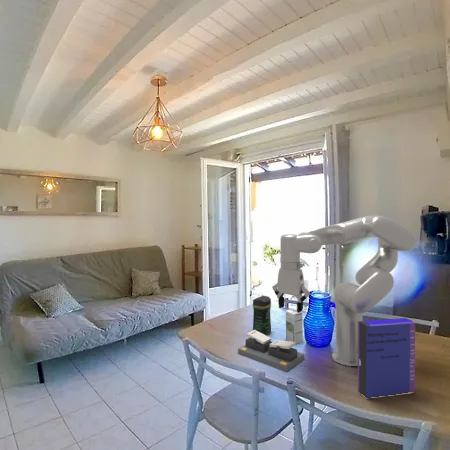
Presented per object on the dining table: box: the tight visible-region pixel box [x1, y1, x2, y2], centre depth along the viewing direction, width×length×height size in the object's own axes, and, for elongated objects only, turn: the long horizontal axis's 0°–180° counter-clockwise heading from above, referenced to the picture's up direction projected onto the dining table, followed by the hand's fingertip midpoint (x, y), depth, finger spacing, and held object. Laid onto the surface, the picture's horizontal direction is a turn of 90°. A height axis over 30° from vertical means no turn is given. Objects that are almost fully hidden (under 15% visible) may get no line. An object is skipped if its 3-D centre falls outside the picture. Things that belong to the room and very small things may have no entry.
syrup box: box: [285, 308, 304, 345], centre depth 145 cm, size 6×6×14 cm
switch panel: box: [237, 334, 305, 373], centre depth 130 cm, size 24×14×7 cm, turn 48°
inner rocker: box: [270, 339, 297, 349], centre depth 126 cm, size 9×6×1 cm, turn 48°
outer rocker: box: [246, 329, 272, 344], centre depth 134 cm, size 9×6×1 cm, turn 48°
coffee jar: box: [252, 295, 272, 336], centre depth 155 cm, size 10×8×19 cm
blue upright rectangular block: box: [357, 317, 416, 398], centre depth 103 cm, size 17×5×24 cm, turn 99°
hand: (290, 309), depth 123 cm, fingers open, 7 cm apart
